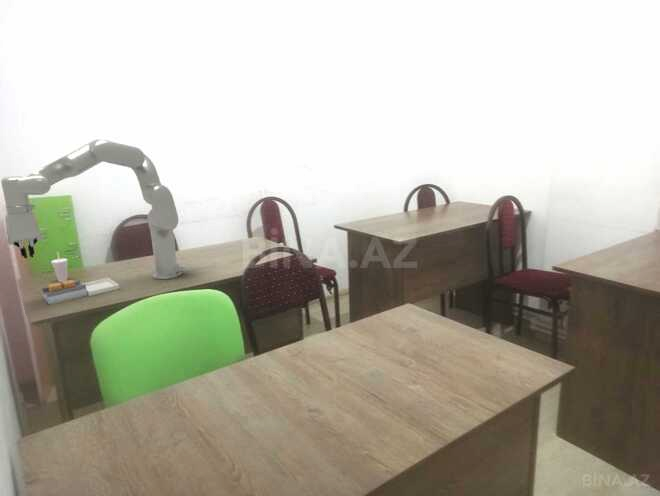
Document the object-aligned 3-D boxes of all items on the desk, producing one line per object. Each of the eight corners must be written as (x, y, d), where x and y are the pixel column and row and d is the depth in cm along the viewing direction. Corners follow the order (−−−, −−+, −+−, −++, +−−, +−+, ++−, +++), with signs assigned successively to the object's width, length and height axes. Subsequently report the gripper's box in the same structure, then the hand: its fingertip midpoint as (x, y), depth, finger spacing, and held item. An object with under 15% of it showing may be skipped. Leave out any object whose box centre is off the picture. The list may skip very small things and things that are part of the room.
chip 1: (60, 289, 196) (59, 282, 195) (62, 291, 193) (61, 284, 192) (49, 291, 193) (48, 284, 192) (51, 294, 190) (50, 287, 189)
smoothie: (54, 284, 212) (49, 253, 209) (55, 280, 218) (49, 250, 214) (71, 281, 215) (65, 251, 212) (71, 277, 221) (65, 248, 217)
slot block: (80, 289, 204) (78, 279, 202) (87, 295, 196) (85, 285, 195) (43, 298, 195) (41, 287, 193) (49, 304, 187) (47, 293, 186)
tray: (108, 281, 213) (108, 277, 212) (119, 289, 203) (119, 284, 202) (79, 288, 205) (78, 284, 205) (89, 296, 195) (88, 291, 194)
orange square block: (73, 286, 199) (72, 279, 198) (76, 288, 196) (75, 281, 195) (63, 288, 196) (61, 281, 195) (65, 291, 193) (64, 284, 192)
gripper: (40, 206, 187) (49, 251, 192) (-8, 211, 177) (2, 259, 182) (44, 208, 182) (53, 254, 187) (-5, 214, 172) (6, 263, 177)
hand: (28, 256), depth 184 cm, fingers closed
